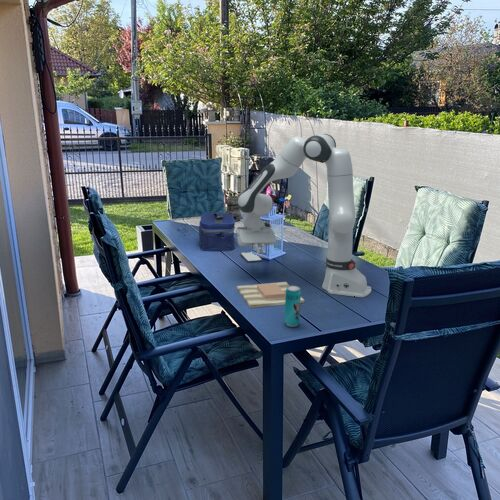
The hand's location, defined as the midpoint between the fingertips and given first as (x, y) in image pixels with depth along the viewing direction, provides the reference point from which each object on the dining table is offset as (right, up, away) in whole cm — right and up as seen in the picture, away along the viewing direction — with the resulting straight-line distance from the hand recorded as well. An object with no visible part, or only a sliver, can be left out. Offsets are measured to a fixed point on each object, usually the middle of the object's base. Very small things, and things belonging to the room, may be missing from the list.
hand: (260, 253), depth 231 cm
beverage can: (+11, -27, -43) cm, 52 cm away
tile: (+2, -15, -10) cm, 18 cm away
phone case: (-5, -4, +41) cm, 41 cm away
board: (+4, -19, -14) cm, 23 cm away
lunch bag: (-25, +4, +66) cm, 71 cm away
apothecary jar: (-18, +23, +133) cm, 136 cm away
